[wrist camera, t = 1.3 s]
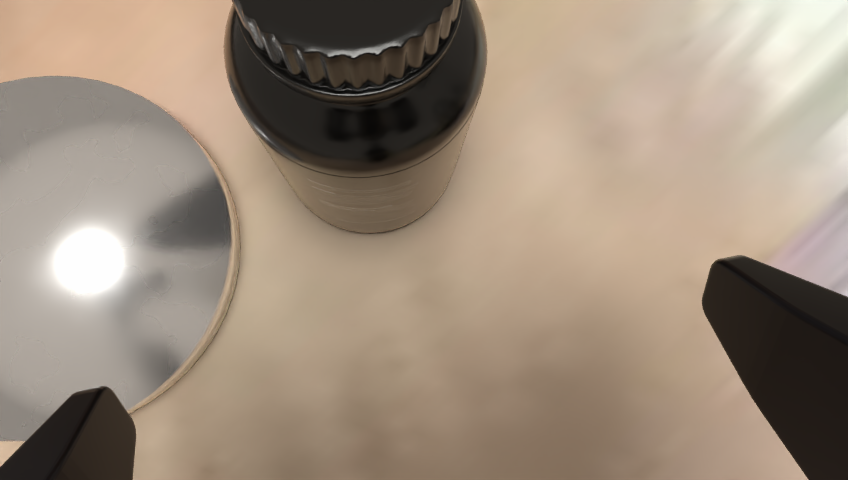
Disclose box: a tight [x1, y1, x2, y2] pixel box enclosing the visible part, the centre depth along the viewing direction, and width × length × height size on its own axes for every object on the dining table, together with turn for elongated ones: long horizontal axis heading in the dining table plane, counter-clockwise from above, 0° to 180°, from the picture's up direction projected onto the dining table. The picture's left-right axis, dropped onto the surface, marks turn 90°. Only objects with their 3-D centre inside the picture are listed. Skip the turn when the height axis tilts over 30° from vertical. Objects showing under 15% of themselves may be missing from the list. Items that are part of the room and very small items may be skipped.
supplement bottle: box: [224, 0, 487, 233], centre depth 16 cm, size 7×7×12 cm
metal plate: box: [0, 76, 240, 441], centre depth 20 cm, size 13×13×2 cm
